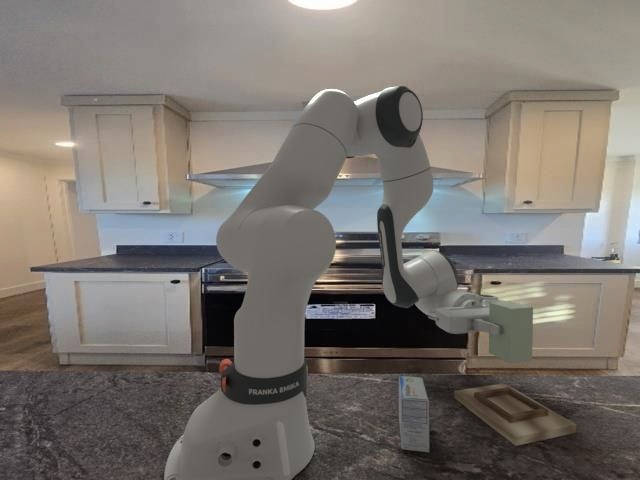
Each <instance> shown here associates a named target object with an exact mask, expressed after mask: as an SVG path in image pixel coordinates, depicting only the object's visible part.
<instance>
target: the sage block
mask: <svg viewBox="0 0 640 480" xmlns="http://www.w3.org/2000/svg"><path fill="white" fill-rule="evenodd" d="M504 301H505V302H492V303H490V306H489V322H490V323H497V324H499V325H502V326H503V328H504V329H503V334H501V335H494V334H491V333H488V353H489V354H490V355H491V356H492V355H493V356H495V357H497V358H498V359H501V360H503V361H505V362H507V363H508V364H515V363H523V362H529V361H533V341H534V340H533V339H534V338H533V336H534V306H529V305H527V304H523V303H518V302H516V301H511V300H507V301H506V300H504Z"/></svg>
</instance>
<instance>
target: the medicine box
mask: <svg viewBox="0 0 640 480" xmlns="http://www.w3.org/2000/svg"><path fill="white" fill-rule="evenodd" d="M429 400H430V399H429V395H428V392H427V388H426V385H425V382H424V378H423V377H417V376H409V375H408V376H406V375H399V377H398V424H399V433H400V434H399V436H400V444H401V445H400V446H401V447H400V448H401V450H407V451H413V452H420V453H421V452H422V453H430V401H429Z"/></svg>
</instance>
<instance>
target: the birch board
mask: <svg viewBox="0 0 640 480" xmlns="http://www.w3.org/2000/svg"><path fill="white" fill-rule="evenodd" d="M453 399H455V400H456V401H457V402H458V403H460V404H461V405H463V406H464V407H465V408H467V409H468V410H469V411H470V412H472V413H473V414H474V415H475V416H476V417H478V418H480V419H481V420H482V421H483V422H484V423H486V424H487V425H488V426H489V427H490V428H492V429H494V430H495V432H498V434H500V435H501V436H502V437H504V438H505V439H506V440H507V441H508V442H510V443H511V444H512V445H514V446H515V447H517V446H522V445H526V444H530V443H535V442H540V441H545V440H549V439H555V438H558V437H563V436H567V435H573V434H576V433H577V424H576V423H574V422H572V421H571V420H570V419H568V418H566V417H564V416H563V415H561V414H559V413H558V412H555V411H554V410H552V409H550V408H548V407H547V406H545V405H543V404H541V403H539V402H538V401H536V399H535V400H534V399H533V398H531V397H530V396H527V395H526V394H524V393H522V392H520V391H519V390H517V389H515V388H514V387H512V386H510V385H508V384H507V383H498V384H491V385H485V386H478V387H471V388H464V389H459V390H458V389H457V390H453Z"/></svg>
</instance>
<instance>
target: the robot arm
mask: <svg viewBox="0 0 640 480" xmlns="http://www.w3.org/2000/svg"><path fill="white" fill-rule="evenodd" d="M423 112H424V111H423V107H422V104H421V101H420V99H419V97H418V96H417V94H416V93H415V92H414V91H413V90H411V89H410V88H409V87H408V86H405V85H395V86H391V87H387V88H384V89H383V90H381V91H379V92H376V93H373V94H369V95H367V96H365V97H361V98H359V99H356V100H355V101H354V100H353V98H352V97H351V96H350V95H348V93H346V92H345V91H342V90H339V89H334V88H333V89H332V88H329V89H324V90H322V91H320V92H318V93H317V94H316V95H315V96H314V97H312V99H311V100H310V101H309V102H308V103H307V105H306V106H305V107H304V108H303V109H302V111H301V112H300V114H299V115H298V117H297V118H296V120H295V122H294V123H293V124H292V126H291V129H290V130H289V132H288V134H287V136H286V137H285V139H284V141H283V143H282V145H281V146H280V148H279V150H278V151H277V153H276V155H275V156H274V159H273V160H272V162H271V163H270V165H269V167H268V168H267V169H266V170H265V172H264V173H263V174H262V176H261V177H260V178H259V180H258V181H257V182H256V183H255V185H253V186H252V188H251V189H250V191H249V192H248V193H247V194H246V196H244V199H243V200H242V201H241V202H240V204H239V205H238V206H237V208H236V209H235V210H234V212H233V213H231V215H230V216H229V217H228V218H226V220H225V221H223V222H222V223H221V225H220V226H219V228H218V230H217V234H216V236H215V237H216V238H215V243H216V248H217V250H218V253H219V255H220V256H221V258H222V259H223V260H224V261H225V262H226V263H227V264H228V265H230V266H231V267H232V268H234V269H235V270H238V271H240V272H244V273H247V283H246V284H247V285H246V290H245V294H244V297H243V301H242V303H241V307H239V309H238V310H237V311H236V312H235V315H234V317H233V318H234V319H233V326H234V327H233V336H234V338H233V341H234V342H233V343H234V344H233V345H234V346H233V348H234V349H233V351H234V352H233V353H234V354H233V360H234V361H231V359H229V358H225V359H222V360H221V362H220V363H219V368H218V371H219V373H220V388H219V389H218V390H217V391H216V392H214V393H213V394H212V395H211V396H210V397H208V398H207V399H206V400H205V401H202V403H201V404H199V405H198V406H197V407H196V408H195V409H194V411H192V414H191V416H190V417H189V419H188V422H187V424H186V427H185V429H184V433H183V434H182V435H181V436H180V437H179V438H178V439H177V440H176V442H175V443H174V445H173V447H172V449H171V450H170V452H169V454H168V457H167V459H166V463H165V467H164V471H163V472H164V474H163V480H292V479H293V478H295V476H297V475H298V474H299V473H300V472H301V471H303V469H305V468H306V466H307V465H308V464H309V463H310V462H311V460H312V458H313V456H314V453H315V449H316V448H315V445H316V444H315V440H314V437H313V433H312V429H311V425H310V422H309V416H308V407H307V399H306V397H307V396H308V387H309V382H308V381H309V378H308V377H309V374H308V373H309V372H308V371H309V370H308V362H307V360H306V358H305V330H306V329H305V324H306V323H305V322H306V321H305V320H306V313H307V308H308V303H309V301H310V297H311V294H312V290H313V289H314V286H315V284H316V282H317V280H318V279H319V278H320V277H321V276H322V275H323V274H325V273H326V271H327V270H328V269H329V267H330V266H331V264H332V262H333V261H334V258H335V254H336V248H337V240H336V239H337V238H336V237H337V236H336V233H335V230H334V228H333V225H332V223H331V222H330V220H329V219H328V218H327V217H326V215H324V214H323V213H322V212H320V211H318V210H315V208H317V207H318V206H320V205H321V204H323V202H324V201H326V200H327V198H328V197H329V196H330V194H331V193H332V189H333V188H334V186H335V183H336V181H337V180H338V178H339V175H340V172H342V169H343V166H344V165H345V162H346V160H347V159H354V158H355V157H363V156H368V155H369V156H370V155H374V156H376V158H377V164H378V170H379V173H380V179H381V182H382V189H383V190H382V191H383V192H382V195H383V197H382V201H381V206H379V208H378V210H377V212H376V218H377V219H376V220H377V221H376V222H377V223H376V225H377V234H378V243H379V252H380V260H381V269H382V270H381V287H382V292H383V293H384V295H385V298H386V299H387V301H388V302H389V303H390V304H391V305H394V306H396V307H398V308H405V309H409V308H410V307H412V306H414V305H415V306H416V307H417V308H418V310H420V311H421V312H422V313H423V314H425V315H426V316H427V318H428V319H430V320H433V321H435V325H436V326H438V328H440V329H442V331H443V330H444V331H445V332H447V333H449V334H455V335H460V334H469V333H470V334H471V333H478V332H480V333H488V334H489V333H491V334H494V335H501V334H503V329H504V328H503V326H502V325H499V324H497V323H490V322H489V306H490V303H492V302H505V301H506V300H502V299H501V300H500V299H499V297H498V296H495V295H489V294H477V293H473V292H469V291H468V292H467V291H463V290H459V289H458V288H459V279H458V278H459V276H458V271H457V267H456V264H455V263H454V262H453V260H452V259H451V258H450V257H448V256H447V255H446V254H445V253H443V252H441V251H437V250H433V249H432V250H429V251H427V252H424V253H423V254H421V255H418V256H417V257H415V258H413V259H411V260H409V261H407V262H404V257H403V256H404V255H403V246H402V236H403V233H404V230H405V229H406V227H407V226H408V224H409V223H410V222H411V221H412V219H413V218H414V217H415V216H416V215H417V214H418V213H419V212H421V210H422V209H423V208H425V206H426V205H427V204H428V203H429V202H430V200H431V197H432V195H433V193H434V177H433V172H432V169H431V165H430V160H429V156H428V153H427V150H426V147H425V144H424V142H423V139H422V137H421V135H420V132H421V130H422V126H423V120H424V114H423Z"/></svg>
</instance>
